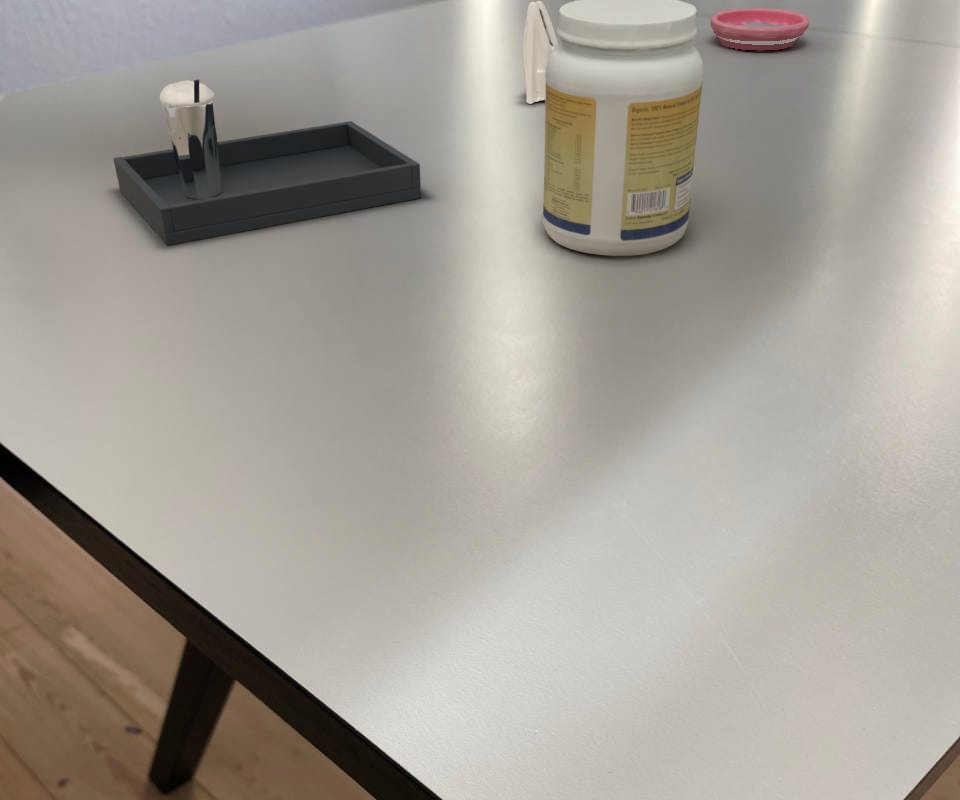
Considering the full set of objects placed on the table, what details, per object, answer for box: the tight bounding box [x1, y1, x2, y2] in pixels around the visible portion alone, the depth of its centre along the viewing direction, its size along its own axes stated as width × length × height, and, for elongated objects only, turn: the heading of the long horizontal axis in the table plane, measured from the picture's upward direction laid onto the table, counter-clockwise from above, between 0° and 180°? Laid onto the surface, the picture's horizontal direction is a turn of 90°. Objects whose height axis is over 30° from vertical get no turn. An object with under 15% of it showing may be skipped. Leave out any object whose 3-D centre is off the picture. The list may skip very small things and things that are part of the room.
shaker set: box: [522, 0, 559, 105], centre depth 125 cm, size 12×4×11 cm, turn 108°
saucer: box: [710, 8, 810, 51], centre depth 145 cm, size 12×12×3 cm
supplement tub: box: [542, 0, 704, 257], centre depth 89 cm, size 12×12×17 cm
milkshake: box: [159, 78, 221, 199], centre depth 97 cm, size 4×5×10 cm
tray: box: [112, 120, 422, 246], centre depth 102 cm, size 24×16×3 cm, turn 118°
